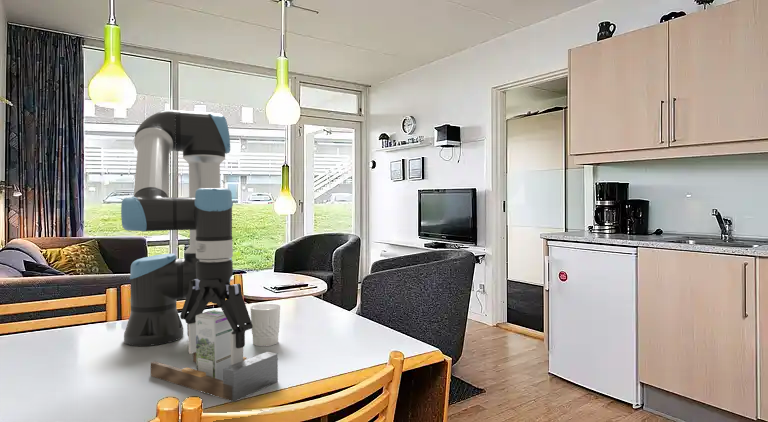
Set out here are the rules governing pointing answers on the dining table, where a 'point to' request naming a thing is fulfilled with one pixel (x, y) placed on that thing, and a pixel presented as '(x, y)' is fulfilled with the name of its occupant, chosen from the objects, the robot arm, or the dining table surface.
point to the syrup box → (213, 343)
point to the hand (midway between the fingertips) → (215, 357)
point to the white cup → (265, 324)
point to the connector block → (251, 375)
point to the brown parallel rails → (191, 378)
